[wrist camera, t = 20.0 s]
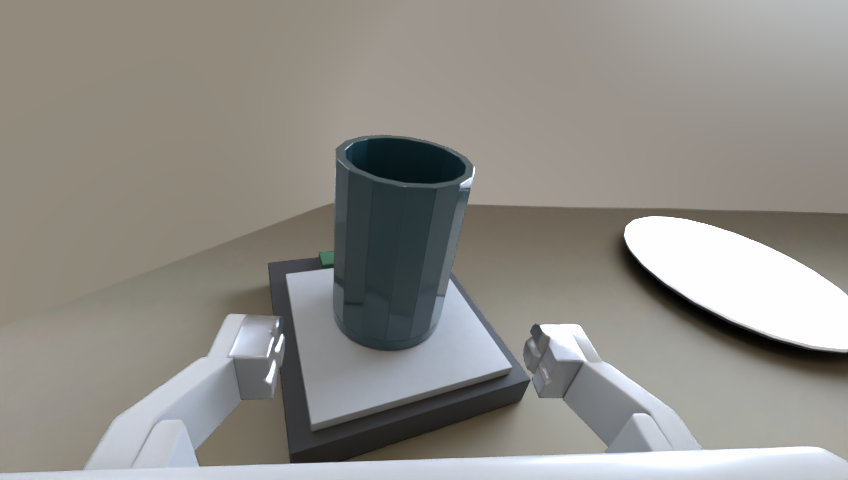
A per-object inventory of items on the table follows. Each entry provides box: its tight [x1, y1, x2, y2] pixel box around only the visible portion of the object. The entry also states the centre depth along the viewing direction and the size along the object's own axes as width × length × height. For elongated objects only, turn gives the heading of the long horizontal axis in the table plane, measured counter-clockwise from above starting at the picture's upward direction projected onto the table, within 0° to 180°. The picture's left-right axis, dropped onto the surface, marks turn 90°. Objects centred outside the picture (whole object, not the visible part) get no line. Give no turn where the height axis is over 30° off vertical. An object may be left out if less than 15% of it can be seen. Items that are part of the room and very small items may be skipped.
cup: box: [333, 135, 475, 351], centre depth 21 cm, size 7×7×10 cm
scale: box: [268, 251, 530, 464], centre depth 24 cm, size 14×13×3 cm
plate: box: [624, 217, 848, 354], centre depth 37 cm, size 21×21×2 cm
